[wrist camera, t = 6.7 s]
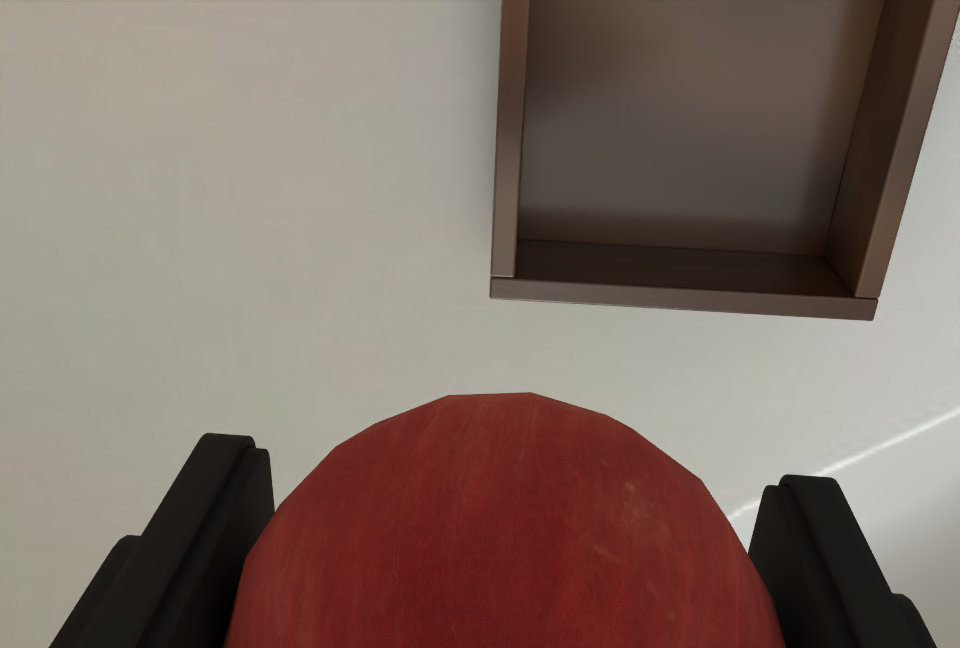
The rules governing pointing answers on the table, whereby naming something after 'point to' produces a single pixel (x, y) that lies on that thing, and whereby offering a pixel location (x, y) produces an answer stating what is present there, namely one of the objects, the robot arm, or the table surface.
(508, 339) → the table surface
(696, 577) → the red round fruit
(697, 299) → the organizer
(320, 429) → the table surface
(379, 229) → the table surface
